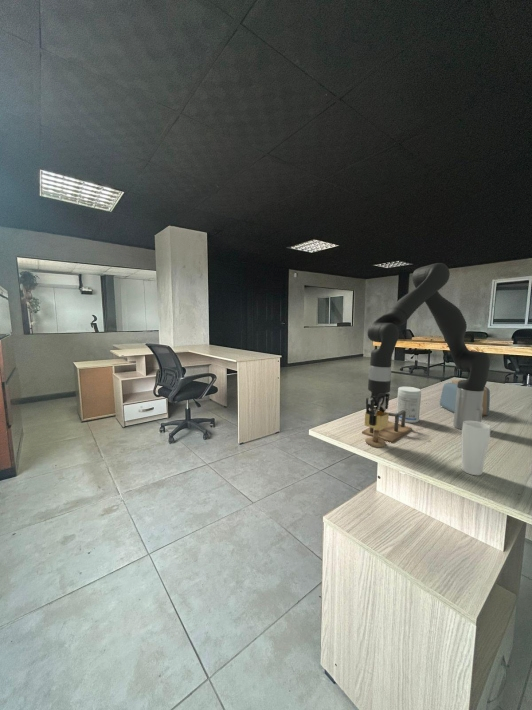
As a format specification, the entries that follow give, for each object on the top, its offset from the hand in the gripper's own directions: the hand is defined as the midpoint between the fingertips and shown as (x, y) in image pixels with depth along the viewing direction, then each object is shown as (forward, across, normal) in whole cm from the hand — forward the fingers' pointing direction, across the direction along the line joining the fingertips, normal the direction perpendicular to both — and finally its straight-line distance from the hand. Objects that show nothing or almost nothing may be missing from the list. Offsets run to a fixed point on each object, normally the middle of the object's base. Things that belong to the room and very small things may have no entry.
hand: (376, 422), depth 104 cm
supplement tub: (+8, +36, +2) cm, 37 cm away
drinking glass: (+8, +3, -29) cm, 30 cm away
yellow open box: (+1, 0, 0) cm, 1 cm away
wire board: (+8, +15, +2) cm, 17 cm away
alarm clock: (+8, +72, -12) cm, 73 cm away
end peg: (+8, 0, 0) cm, 8 cm away
